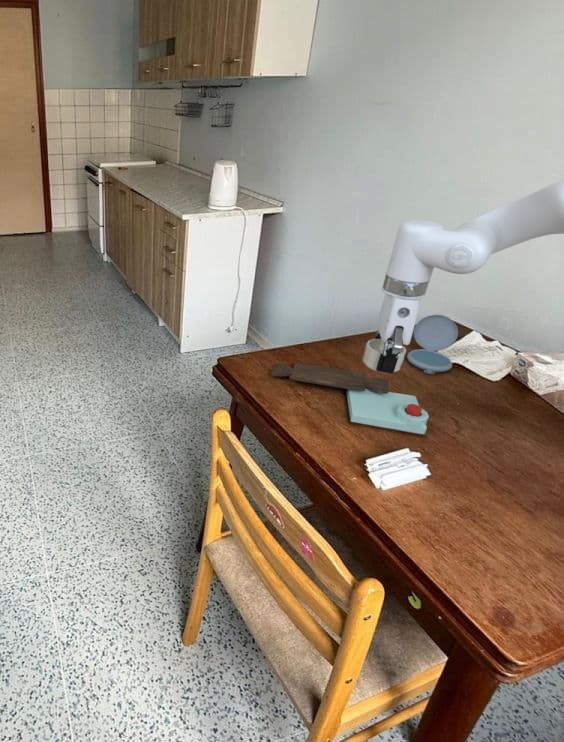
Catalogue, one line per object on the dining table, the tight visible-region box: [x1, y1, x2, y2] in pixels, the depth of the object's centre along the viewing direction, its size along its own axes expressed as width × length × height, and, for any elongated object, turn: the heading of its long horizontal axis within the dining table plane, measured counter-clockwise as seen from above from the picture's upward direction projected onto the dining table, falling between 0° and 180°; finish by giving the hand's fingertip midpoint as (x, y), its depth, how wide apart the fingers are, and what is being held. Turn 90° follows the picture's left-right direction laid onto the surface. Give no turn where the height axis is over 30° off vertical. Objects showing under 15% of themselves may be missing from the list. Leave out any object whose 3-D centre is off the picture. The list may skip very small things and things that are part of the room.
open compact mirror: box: [406, 314, 459, 375], centre depth 120 cm, size 10×11×15 cm
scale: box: [346, 387, 430, 435], centre depth 104 cm, size 14×12×4 cm
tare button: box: [406, 404, 423, 417], centre depth 99 cm, size 3×3×2 cm
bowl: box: [362, 338, 407, 374], centre depth 101 cm, size 7×7×5 cm
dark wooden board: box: [270, 362, 390, 394], centre depth 114 cm, size 26×2×10 cm
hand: (382, 361), depth 101 cm, fingers closed on bowl, 7 cm apart
